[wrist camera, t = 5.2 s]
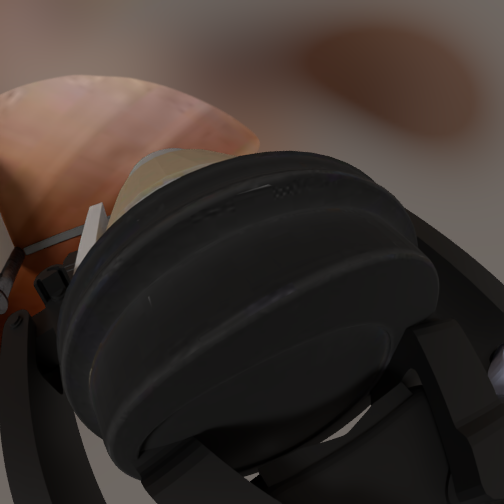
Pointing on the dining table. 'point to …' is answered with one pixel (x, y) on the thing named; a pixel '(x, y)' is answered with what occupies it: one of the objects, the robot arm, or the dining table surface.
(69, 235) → the bar
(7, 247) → the gate
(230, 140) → the dining table surface
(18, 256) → the hinge post
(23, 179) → the dining table surface
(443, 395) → the robot arm
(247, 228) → the coffee cup
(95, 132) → the dining table surface
